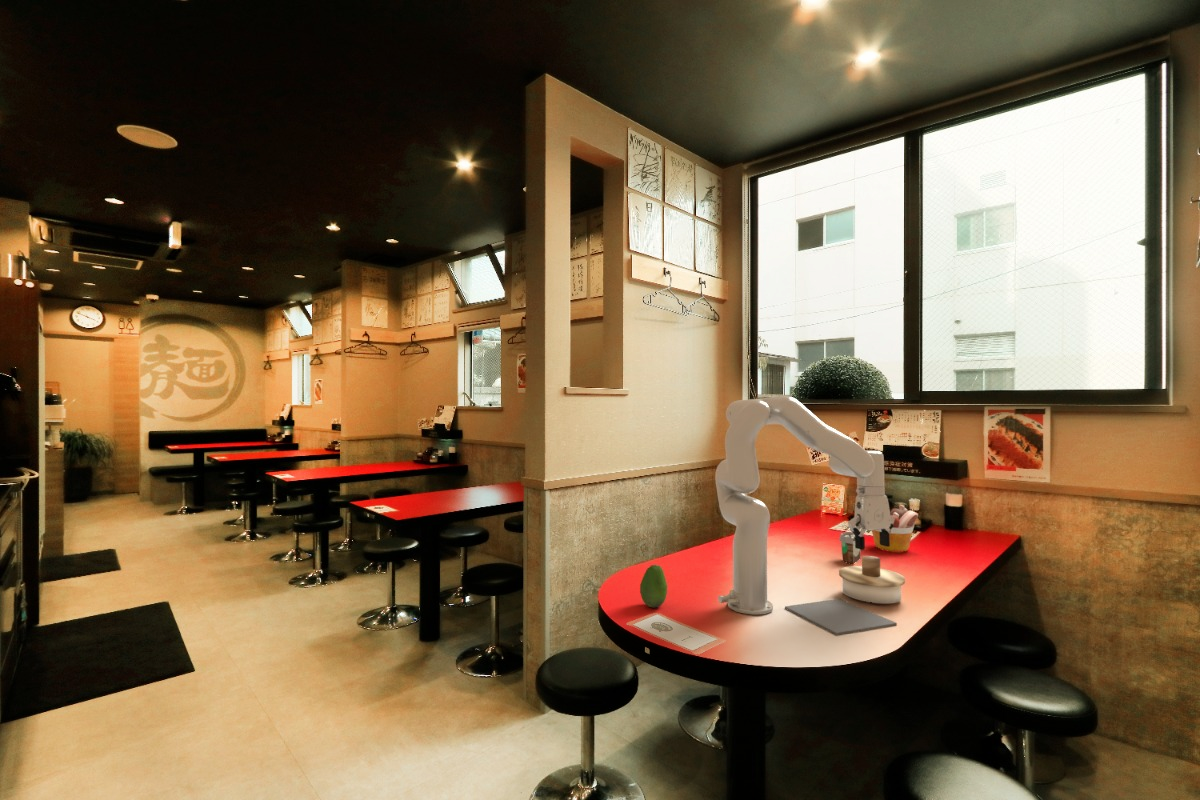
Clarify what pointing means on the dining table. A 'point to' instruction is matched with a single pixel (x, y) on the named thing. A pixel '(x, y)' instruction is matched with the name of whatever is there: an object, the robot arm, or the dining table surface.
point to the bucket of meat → (898, 530)
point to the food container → (849, 548)
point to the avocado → (653, 586)
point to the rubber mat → (840, 616)
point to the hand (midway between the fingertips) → (872, 547)
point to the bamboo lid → (871, 574)
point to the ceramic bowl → (872, 592)
